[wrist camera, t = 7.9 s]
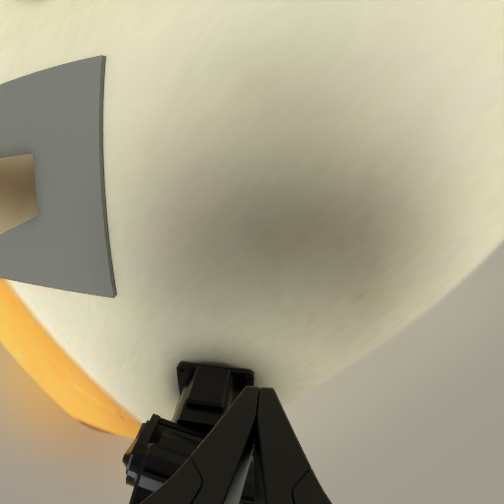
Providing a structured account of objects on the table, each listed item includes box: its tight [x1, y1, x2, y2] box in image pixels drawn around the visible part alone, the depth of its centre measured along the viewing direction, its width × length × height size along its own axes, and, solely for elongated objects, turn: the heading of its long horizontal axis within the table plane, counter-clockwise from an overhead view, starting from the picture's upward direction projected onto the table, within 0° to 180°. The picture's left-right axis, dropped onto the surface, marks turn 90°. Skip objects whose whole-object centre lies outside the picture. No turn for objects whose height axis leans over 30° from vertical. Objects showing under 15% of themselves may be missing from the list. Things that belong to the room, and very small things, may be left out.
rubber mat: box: [0, 55, 116, 298], centre depth 21 cm, size 18×18×1 cm
